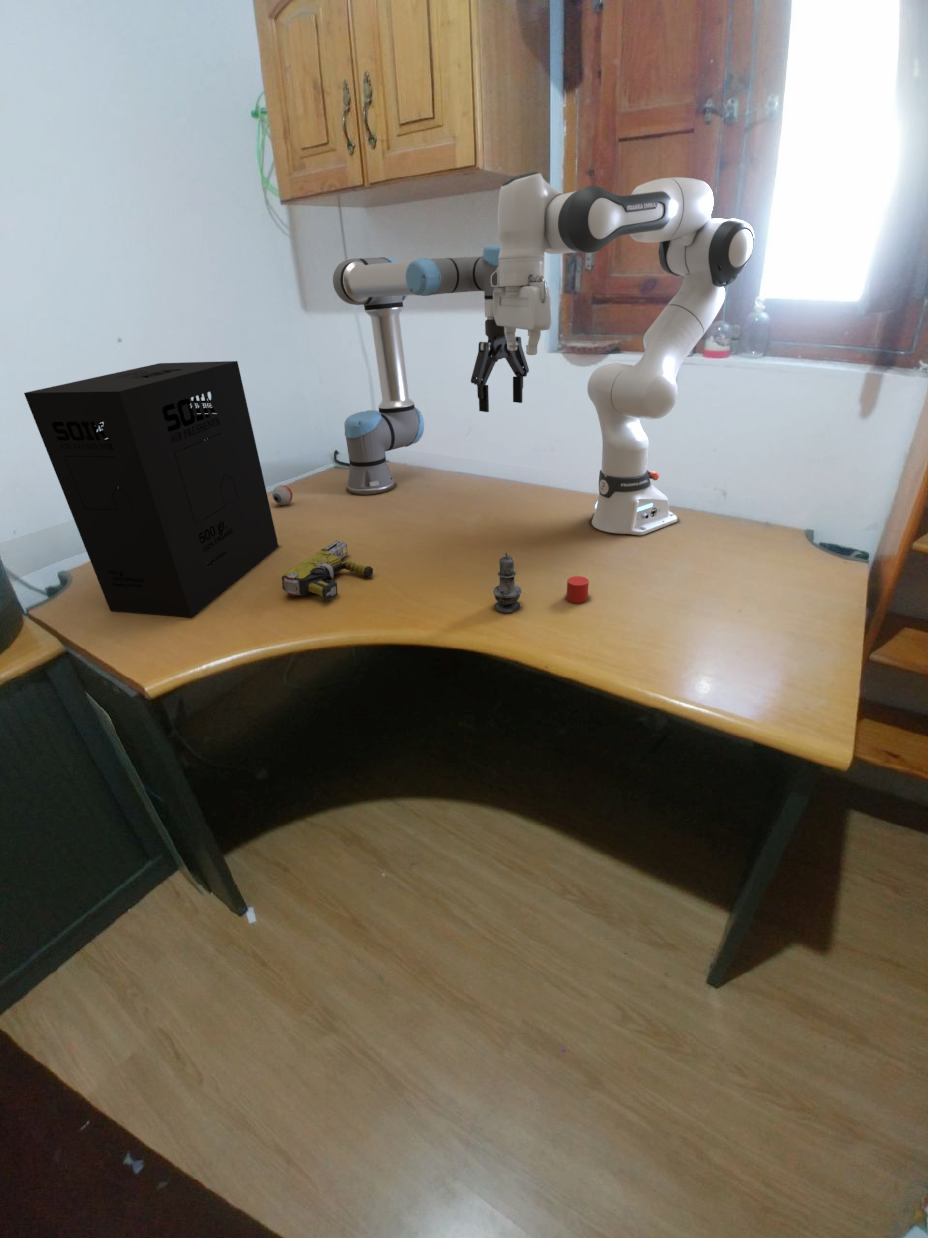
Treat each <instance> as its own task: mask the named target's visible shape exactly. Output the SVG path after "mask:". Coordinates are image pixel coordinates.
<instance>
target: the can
mask: <svg viewBox="0 0 928 1238" xmlns="http://www.w3.org/2000/svg"><path fill="white" fill-rule="evenodd" d="M589 584H590V581H589V579H588V578H587V577H585V576H580V575H576V576H575V575H574V576H570V577H569V578H568V579H567V582H566V600H567V601H568V602H570V603H572V604H573V603H574V604H583V603H585V602H587V601H588V599H589Z"/></svg>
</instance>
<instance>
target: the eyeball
mask: <svg viewBox="0 0 928 1238" xmlns="http://www.w3.org/2000/svg"><path fill="white" fill-rule="evenodd" d="M271 496H272V500H274V502H275V503H276V504H277V505H280V506H286V505H289V504H291V502H292V500H293V497H294V495H293V491H292V489H291V488H289V486H287V485H283V484H279V485H277V486H275V487H274V488H273V490H272V494H271Z"/></svg>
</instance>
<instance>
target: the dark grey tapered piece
mask: <svg viewBox="0 0 928 1238" xmlns="http://www.w3.org/2000/svg"><path fill="white" fill-rule="evenodd" d="M498 562H499V564H498V565H499V566H498V567H499V571H498V572H497V576H498V577H499V578H498V579H499V583H498V585H497V586H495V587H494V588H492V594H493V595H494V598H495V600H496V601H497V602H495V603H494V609H495V610H496V611H497V612H500V613H515V612H517V611H519V609H520V608H521V603H520V602H518V601H519V600H520V597H521V594H522V591H523V590H522V588H521V587H520V586H519V585H516V581H515V577H516V575H517V572H516V571H515V560H514V557H512V556H511V555H509V553H508V552H505V553H504V556H501V557H500V558H499V561H498Z"/></svg>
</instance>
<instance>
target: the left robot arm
mask: <svg viewBox="0 0 928 1238" xmlns="http://www.w3.org/2000/svg"><path fill="white" fill-rule="evenodd" d="M499 252H500V244H497V245H485V246H484V248H483V250H482V256H459V257H445V258H418V259H413V260H404V261H400V260H398V259H396V258H394V257H386V256H379V257H364V258H363V257H361V258H349V259H346V260H343V261H342V262H340V263H339V264H338V265H337V266H336V267H335V269H334V271H333V274H332V285H333V288H334V291H335V293H336V296H338V297H339V298H340V300H341V301H343V302H345V303H346V304H349V305H355V306H363V307H364V312H365V313H366V314H367V315H368V316H369V317H370V322H371V328H372V329H371V330H372V336H373V337H372V338H373V343H374V350H375V359H376V364H377V372H378V378H379V379H378V380H379V387H380V393H381V402H380V403H379V404H378V407H377V408H378V410H376V409H375V410H374V409H372V410H370V409H369V410H365V411H357V412H355V413H352V414H351V415H349V416H348V417H346V419H345V421H344V423H343V424H344V436H345V442H346V448H347V454H348V455H347V456H348V461H349V462H344V461H340V460H338V459H337V454H339V451H338V450H337V449H335V450H334V451H333V460H334V461H335V462H336V463H337V464H339V465H343V466H349V471H348V476H347V482H346V487H347V491H348V492H349V493H350V494H353V495H359V496H371V495H379V494H384V493H385V492H389V491H391V490H392V489H394V488H395V478H394V477H393V475H392V471H391V470H390V467H389V466H388V463H387V458H386V452H389V451H392V450H397V449H401V448H404V447H405V448H407V447H410V446H412V445H414V444H417V443H418V442H419V441H420V440H421V439H422V438H423V435H424V431H425V419H424V416H423V414H421V413H422V412H421V410H420V409H419V408H418V407H415V402H414V401H413V400H412V399H411V398H410V396H409V395H410V394H409V387H408V380H407V371H406V363H405V354H404V352H405V351H404V345H403V336H402V328H401V319H400V314H401V313H402V310H403V309H404V301H405V300H406V299H407V298H408V296H421V297H428V296H435V295H445V294H456V293H458V294H459V293H468V292H469V293H470V292H471V293H472V292H483V294H484V297H483V298H484V317H485V318H486V319H485V321H484V330H485V331H484V333H485V334H484V335H485V336H487V341H479V342H478V350H477V354H476V359H475V363H474V366H473V369H472V375H471V377H470V383H471V384H473V385H476V390H477V391H476V393H477V399H478V411H479V412H483V413H489V412H490V404H489V403H490V402H489V400H490V399H489V384H487V383H488V380H489V378H490V375H491V373H492V371H493V369H494V366H496V363H497V362H498V361H499V360H503V359H505V360H506V362H507V364H508V365H509V367H510V368H511V370H512V372H513V374H514V376H512V403H516V404H517V403H518V404H523V390H524V378H526V377H527V375H528V373H529V372H530V367H529V364H528V362H527V359H526V355H525V351H524V349H523V346H522V337H521V336H515V337H516V341H518V345H517V347H518V349H517V350H516V351H509V350H508V349H507V340H506V337H505V333H504V327H503V326H497V324H496V322H495V319H494V308H493V290H494V288H495V287H492V286H491V275H492V274H493V273H494V272H495V271H496V269H497V267H498V266H499V262H498V260H500V259H498V257H499Z"/></svg>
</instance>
